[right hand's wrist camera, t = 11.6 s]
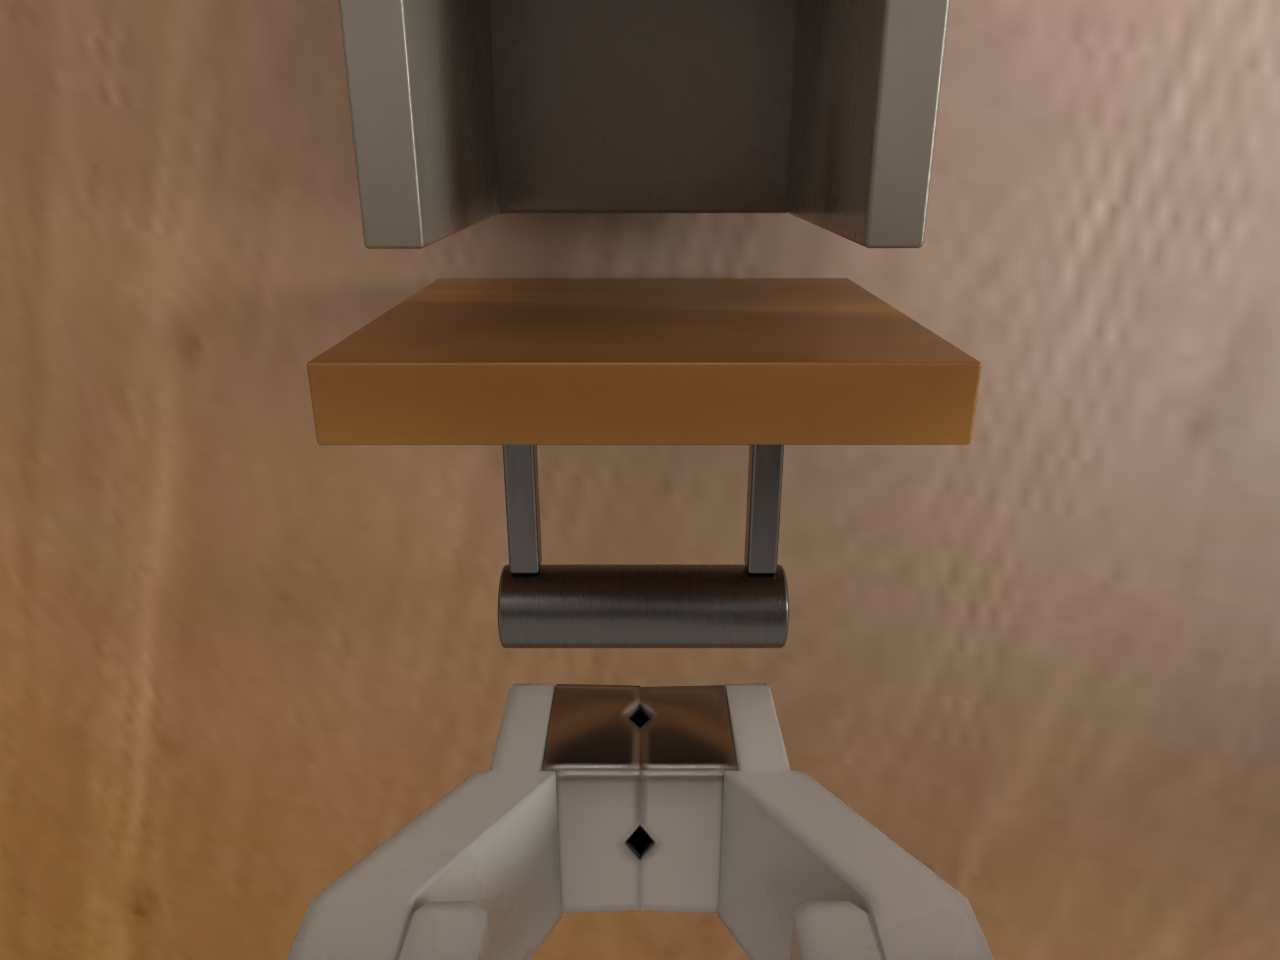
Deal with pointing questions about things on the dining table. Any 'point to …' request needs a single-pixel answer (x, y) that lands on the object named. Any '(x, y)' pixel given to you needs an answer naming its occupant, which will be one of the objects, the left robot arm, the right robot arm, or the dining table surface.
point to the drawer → (644, 308)
